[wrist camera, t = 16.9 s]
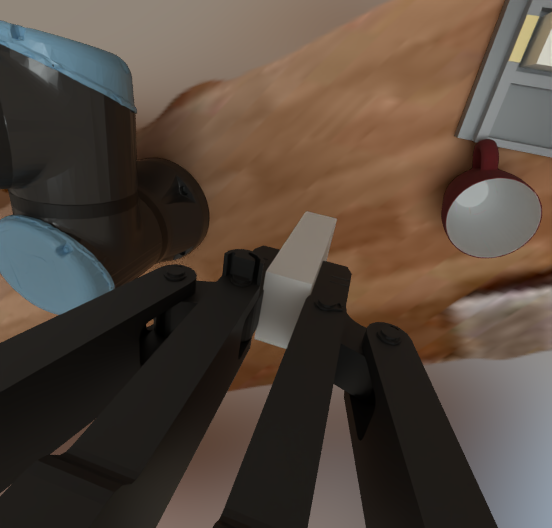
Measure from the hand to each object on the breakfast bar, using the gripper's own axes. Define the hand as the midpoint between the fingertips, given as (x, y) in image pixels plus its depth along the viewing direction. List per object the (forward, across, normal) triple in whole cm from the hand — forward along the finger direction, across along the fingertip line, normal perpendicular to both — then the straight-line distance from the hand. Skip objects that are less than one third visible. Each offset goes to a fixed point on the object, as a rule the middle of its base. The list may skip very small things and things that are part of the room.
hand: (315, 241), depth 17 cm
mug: (+31, +13, -1) cm, 33 cm away
